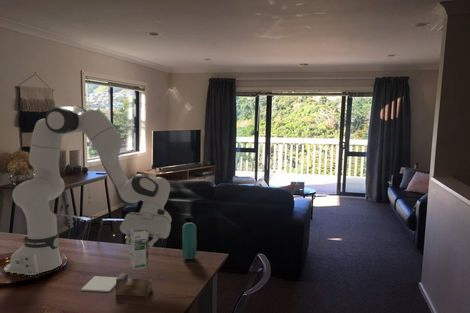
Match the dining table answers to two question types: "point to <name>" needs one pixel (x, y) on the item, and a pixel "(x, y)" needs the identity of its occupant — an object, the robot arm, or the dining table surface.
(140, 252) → the syrup box
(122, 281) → the brown wooden block
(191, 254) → the beverage bottle
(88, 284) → the felt pad
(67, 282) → the dining table surface
